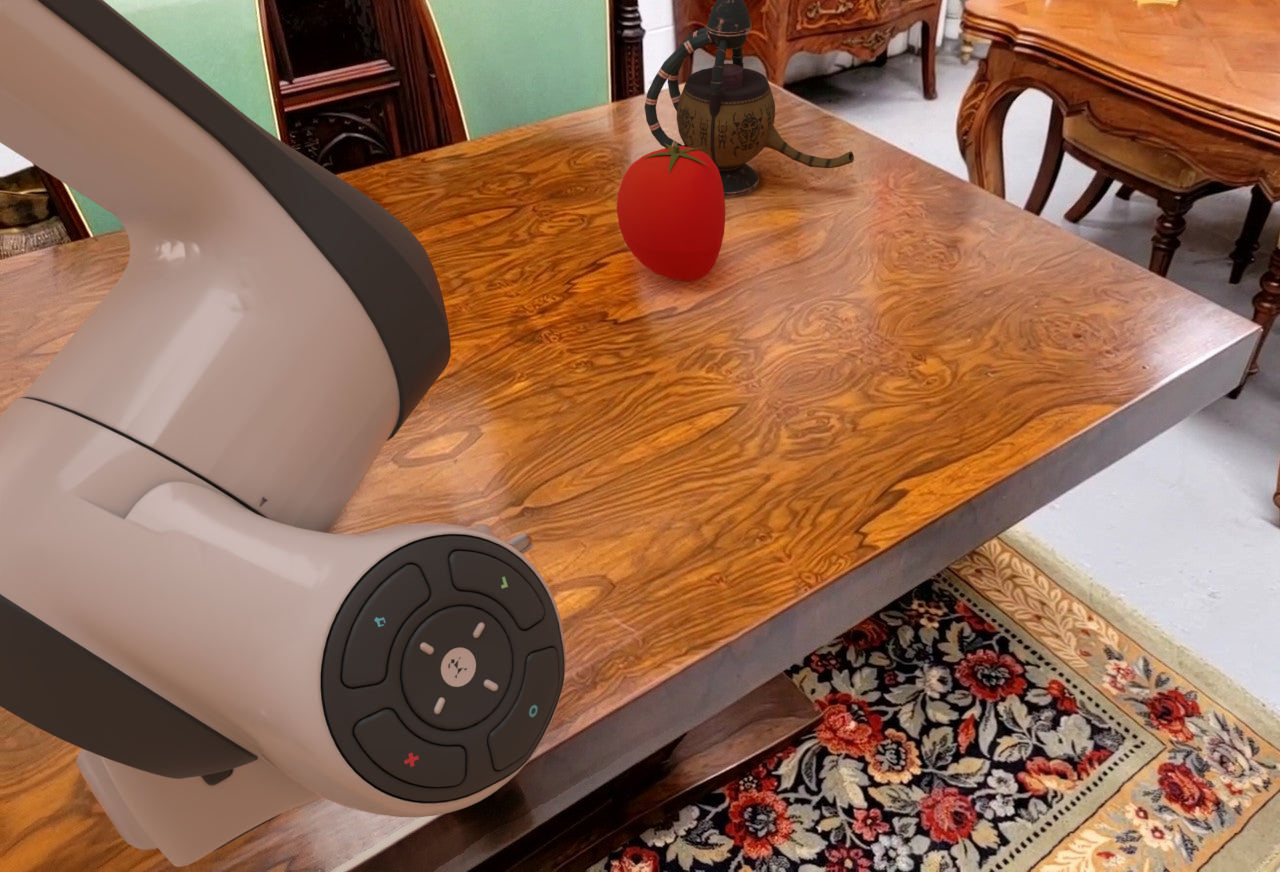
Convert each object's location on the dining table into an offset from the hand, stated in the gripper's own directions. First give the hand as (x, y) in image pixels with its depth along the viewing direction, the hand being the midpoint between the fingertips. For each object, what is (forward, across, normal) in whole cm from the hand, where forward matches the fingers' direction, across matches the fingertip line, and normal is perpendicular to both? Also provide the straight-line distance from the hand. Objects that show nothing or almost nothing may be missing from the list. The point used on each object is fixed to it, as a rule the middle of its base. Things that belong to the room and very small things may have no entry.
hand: (294, 661), depth 50 cm
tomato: (+30, -57, -12) cm, 65 cm away
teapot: (+36, -79, -18) cm, 88 cm away
